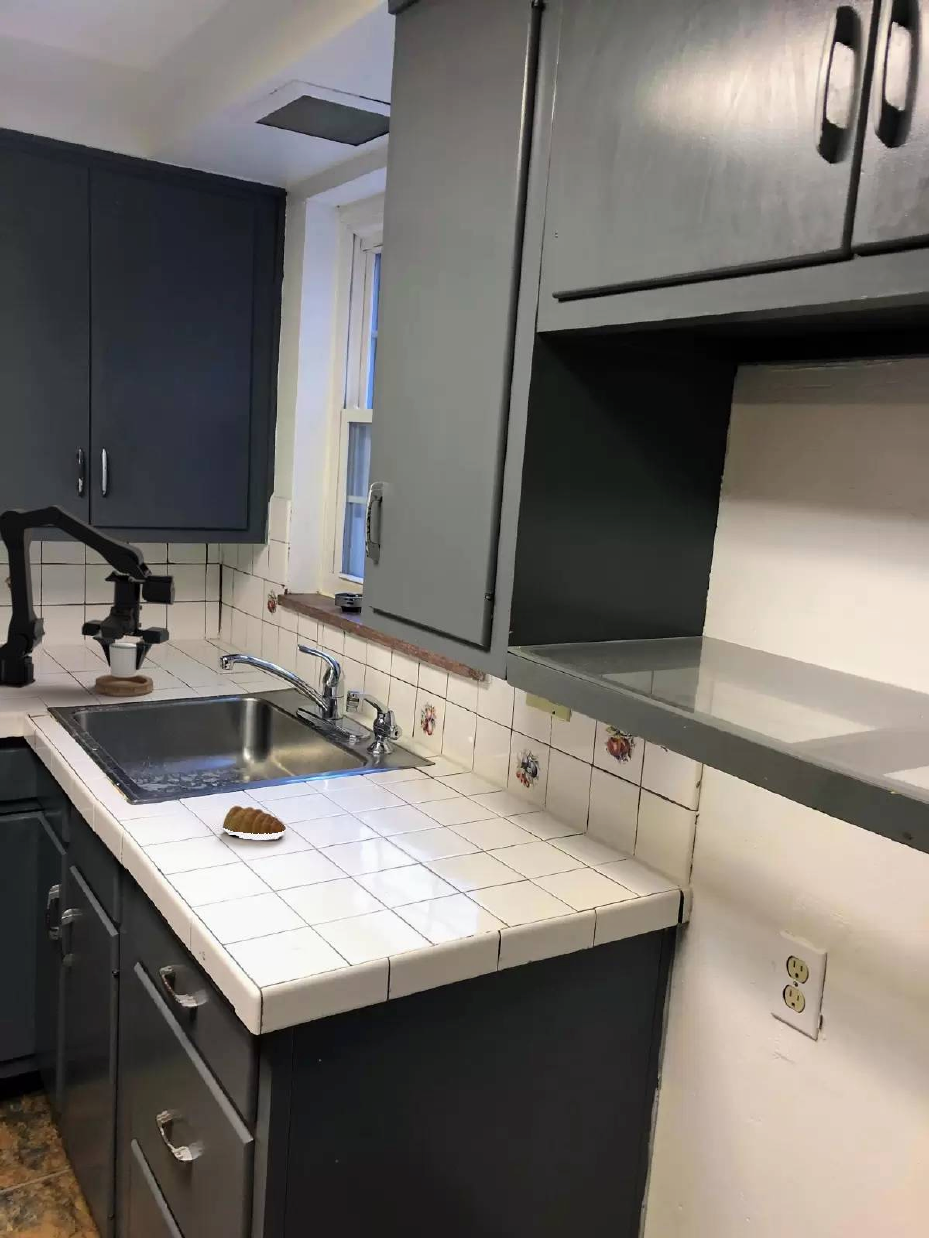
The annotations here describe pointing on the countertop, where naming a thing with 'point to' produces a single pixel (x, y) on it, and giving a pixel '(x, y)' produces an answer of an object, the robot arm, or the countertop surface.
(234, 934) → the countertop surface
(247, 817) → the pastry
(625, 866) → the countertop surface
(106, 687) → the round wooden tray
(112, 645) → the white canister
